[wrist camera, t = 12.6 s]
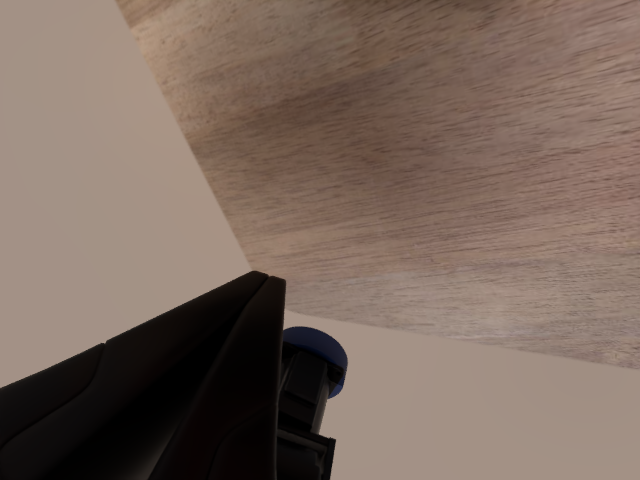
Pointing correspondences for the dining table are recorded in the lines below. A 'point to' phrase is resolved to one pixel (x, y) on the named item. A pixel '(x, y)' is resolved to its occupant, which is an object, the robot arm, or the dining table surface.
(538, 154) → the dining table surface
